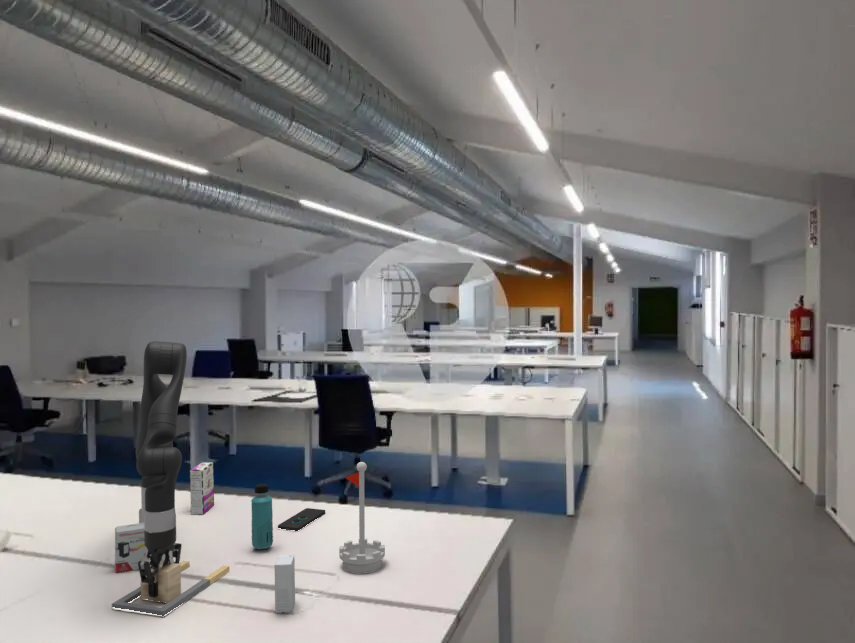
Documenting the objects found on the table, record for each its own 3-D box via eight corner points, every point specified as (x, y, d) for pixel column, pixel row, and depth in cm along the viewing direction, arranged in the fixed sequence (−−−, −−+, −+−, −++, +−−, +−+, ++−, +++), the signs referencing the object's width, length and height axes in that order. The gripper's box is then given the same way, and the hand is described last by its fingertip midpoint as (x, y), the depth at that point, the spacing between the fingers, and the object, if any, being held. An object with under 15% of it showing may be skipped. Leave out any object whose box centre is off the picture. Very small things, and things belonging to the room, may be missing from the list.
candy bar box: (201, 505, 238) (200, 462, 238) (214, 505, 238) (214, 462, 238) (189, 515, 227) (189, 469, 226) (203, 515, 227) (203, 469, 226)
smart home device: (276, 525, 212) (306, 507, 231) (276, 530, 212) (306, 512, 231) (298, 527, 210) (326, 509, 229) (298, 533, 210) (326, 514, 229)
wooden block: (141, 599, 161) (140, 568, 160) (154, 590, 165) (154, 560, 165) (167, 603, 158) (167, 571, 158) (180, 594, 163) (180, 564, 163)
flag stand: (391, 559, 186) (391, 458, 186) (373, 577, 174) (373, 469, 173) (351, 554, 191) (351, 455, 190) (331, 571, 178) (330, 465, 178)
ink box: (115, 573, 177) (114, 531, 177) (114, 567, 181) (114, 526, 181) (148, 567, 181) (148, 527, 181) (147, 561, 185) (147, 521, 185)
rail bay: (111, 609, 156) (111, 603, 156) (183, 565, 182) (183, 560, 182) (163, 617, 152) (163, 611, 152) (229, 571, 178) (229, 566, 178)
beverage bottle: (267, 554, 190) (267, 488, 190) (247, 552, 192) (246, 487, 191) (277, 546, 197) (276, 482, 196) (257, 544, 198) (256, 481, 198)
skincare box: (278, 601, 160) (277, 554, 159) (295, 601, 160) (295, 554, 160) (274, 613, 154) (274, 564, 153) (292, 612, 154) (291, 564, 154)
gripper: (166, 515, 169) (167, 578, 170) (127, 534, 156) (128, 602, 156) (190, 518, 167) (191, 581, 168) (153, 537, 154) (154, 606, 154)
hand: (161, 591), depth 162 cm, fingers closed on wooden block, 5 cm apart
